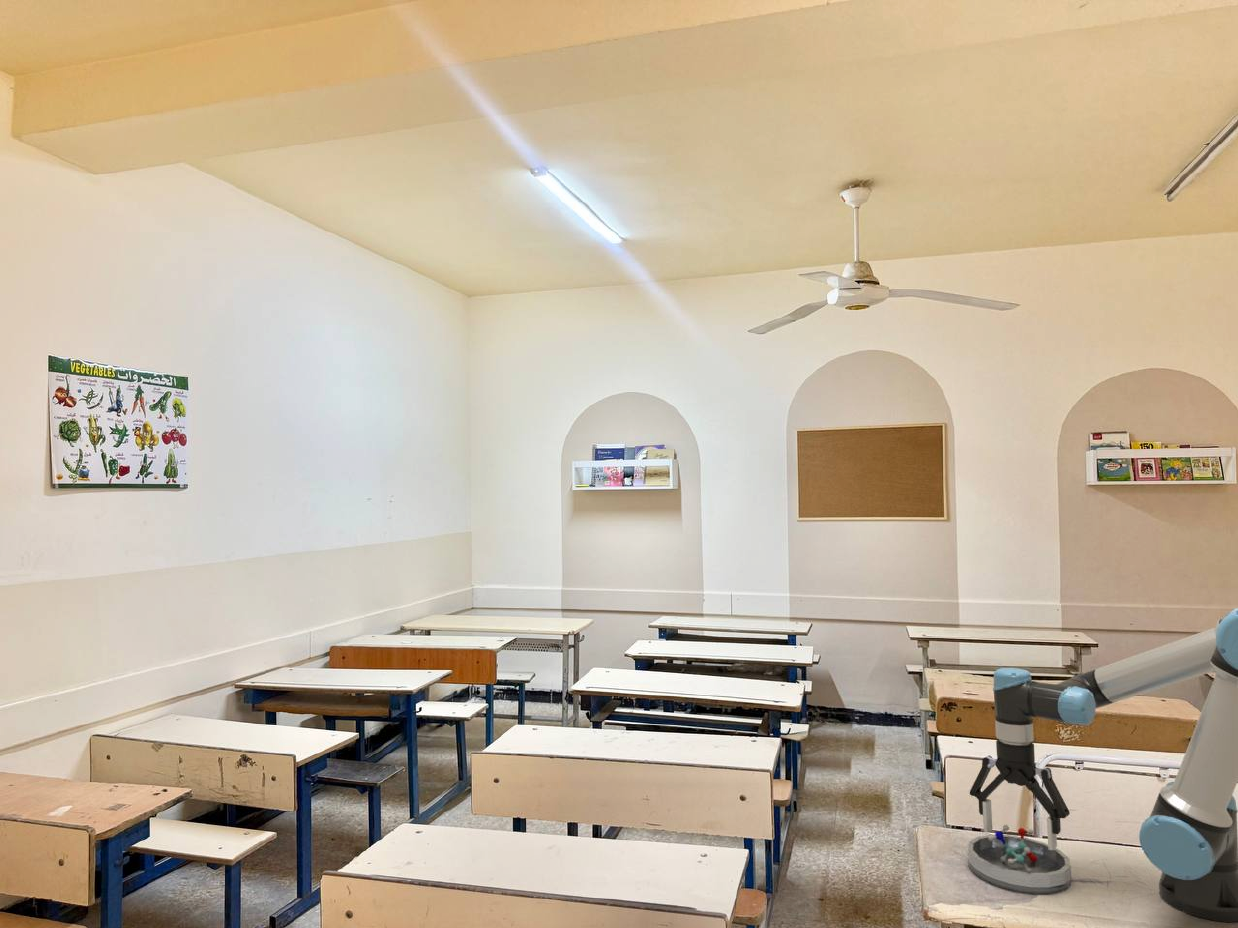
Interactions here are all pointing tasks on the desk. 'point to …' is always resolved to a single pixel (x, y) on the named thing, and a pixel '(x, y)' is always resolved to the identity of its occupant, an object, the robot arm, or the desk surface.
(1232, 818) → the robot arm
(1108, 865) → the desk surface
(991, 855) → the shallow grey dish
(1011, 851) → the molecular model
